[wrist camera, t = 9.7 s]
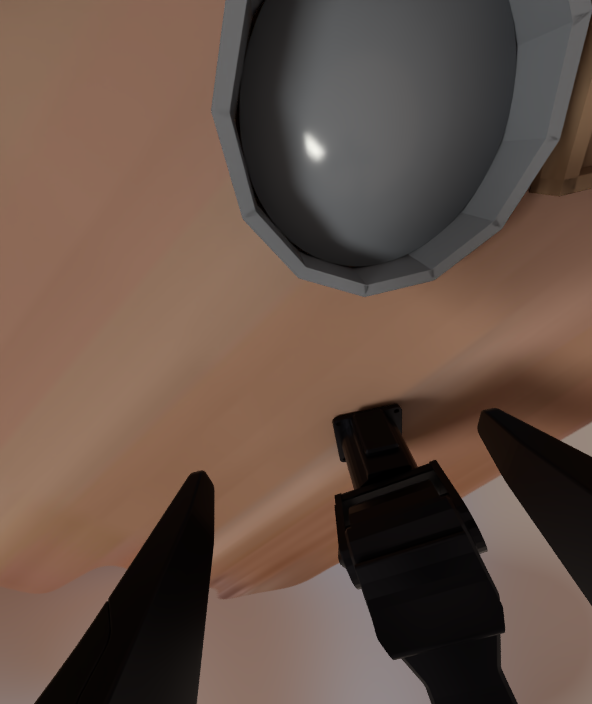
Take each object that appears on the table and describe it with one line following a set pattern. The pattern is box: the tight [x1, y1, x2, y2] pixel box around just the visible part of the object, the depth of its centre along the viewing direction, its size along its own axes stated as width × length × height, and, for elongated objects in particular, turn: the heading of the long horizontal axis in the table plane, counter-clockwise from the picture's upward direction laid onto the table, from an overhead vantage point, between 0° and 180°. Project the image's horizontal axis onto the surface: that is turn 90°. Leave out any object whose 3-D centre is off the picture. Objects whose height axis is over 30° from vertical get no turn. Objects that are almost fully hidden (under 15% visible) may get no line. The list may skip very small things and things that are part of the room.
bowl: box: [211, 0, 592, 297], centre depth 14 cm, size 15×15×3 cm
